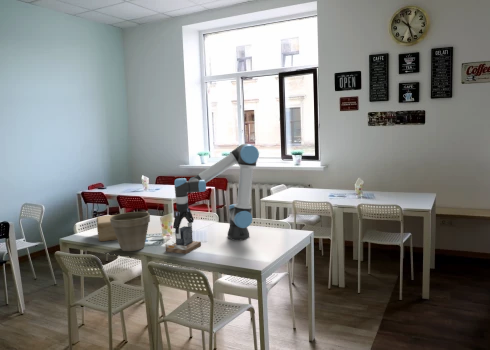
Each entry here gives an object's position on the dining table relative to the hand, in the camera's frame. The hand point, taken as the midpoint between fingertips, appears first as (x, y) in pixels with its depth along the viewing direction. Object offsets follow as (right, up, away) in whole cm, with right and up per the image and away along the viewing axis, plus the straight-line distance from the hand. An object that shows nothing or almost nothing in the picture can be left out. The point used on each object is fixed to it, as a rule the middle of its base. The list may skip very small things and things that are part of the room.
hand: (184, 235), depth 265 cm
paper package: (-55, -6, +38) cm, 67 cm away
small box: (0, -6, +1) cm, 6 cm away
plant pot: (-35, -9, +5) cm, 36 cm away
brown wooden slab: (-1, -8, 0) cm, 8 cm away
